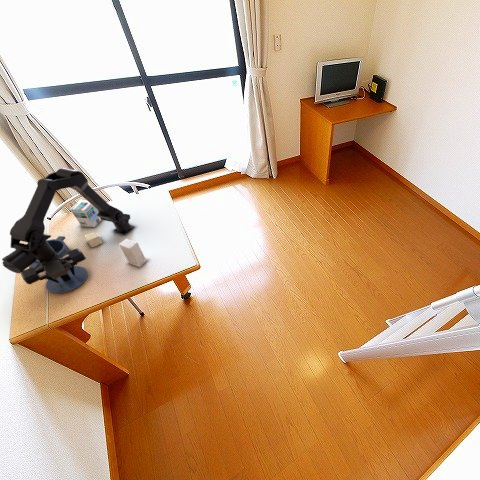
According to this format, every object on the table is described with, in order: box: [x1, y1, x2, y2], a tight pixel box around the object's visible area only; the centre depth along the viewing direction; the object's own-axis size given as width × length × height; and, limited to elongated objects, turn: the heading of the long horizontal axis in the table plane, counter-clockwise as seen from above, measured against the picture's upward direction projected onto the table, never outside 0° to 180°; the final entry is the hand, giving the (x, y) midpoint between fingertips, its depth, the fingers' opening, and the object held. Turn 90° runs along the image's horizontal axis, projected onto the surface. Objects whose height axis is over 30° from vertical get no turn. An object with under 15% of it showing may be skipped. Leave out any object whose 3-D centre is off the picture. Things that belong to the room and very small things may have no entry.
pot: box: [28, 235, 72, 270], centre depth 119 cm, size 13×18×6 cm
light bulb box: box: [69, 196, 102, 228], centre depth 137 cm, size 11×7×11 cm, turn 179°
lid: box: [45, 265, 89, 295], centre depth 113 cm, size 14×14×6 cm
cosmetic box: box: [118, 238, 147, 268], centre depth 121 cm, size 6×4×12 cm
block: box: [83, 231, 103, 248], centre depth 129 cm, size 4×4×4 cm
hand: (66, 278), depth 114 cm, fingers open, 5 cm apart
